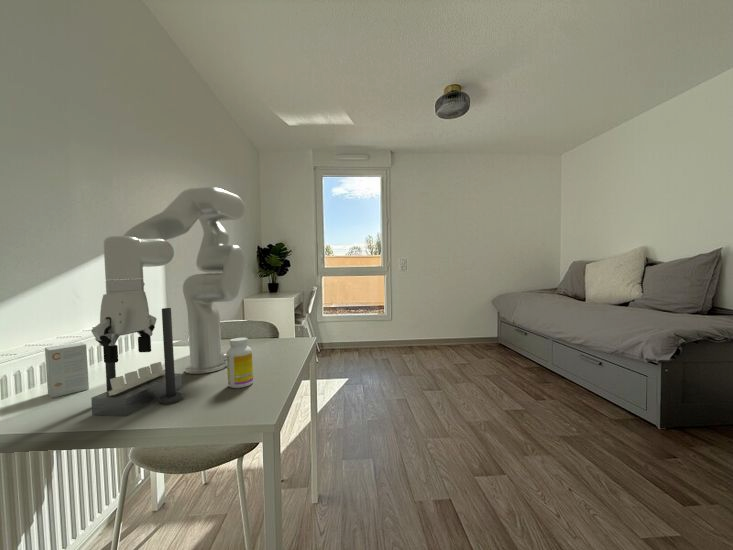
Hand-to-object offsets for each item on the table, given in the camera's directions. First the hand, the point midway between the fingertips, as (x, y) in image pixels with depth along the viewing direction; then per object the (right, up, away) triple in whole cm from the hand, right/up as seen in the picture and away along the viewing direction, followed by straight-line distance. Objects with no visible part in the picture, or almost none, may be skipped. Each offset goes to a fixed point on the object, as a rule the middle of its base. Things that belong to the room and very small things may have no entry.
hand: (129, 356), depth 82 cm
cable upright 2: (+9, -11, +2) cm, 15 cm away
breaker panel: (+1, -12, +3) cm, 12 cm away
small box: (-26, -13, +12) cm, 31 cm away
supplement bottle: (+23, -11, +12) cm, 28 cm away
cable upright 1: (-7, -12, +4) cm, 15 cm away
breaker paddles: (+1, -7, +3) cm, 8 cm away
